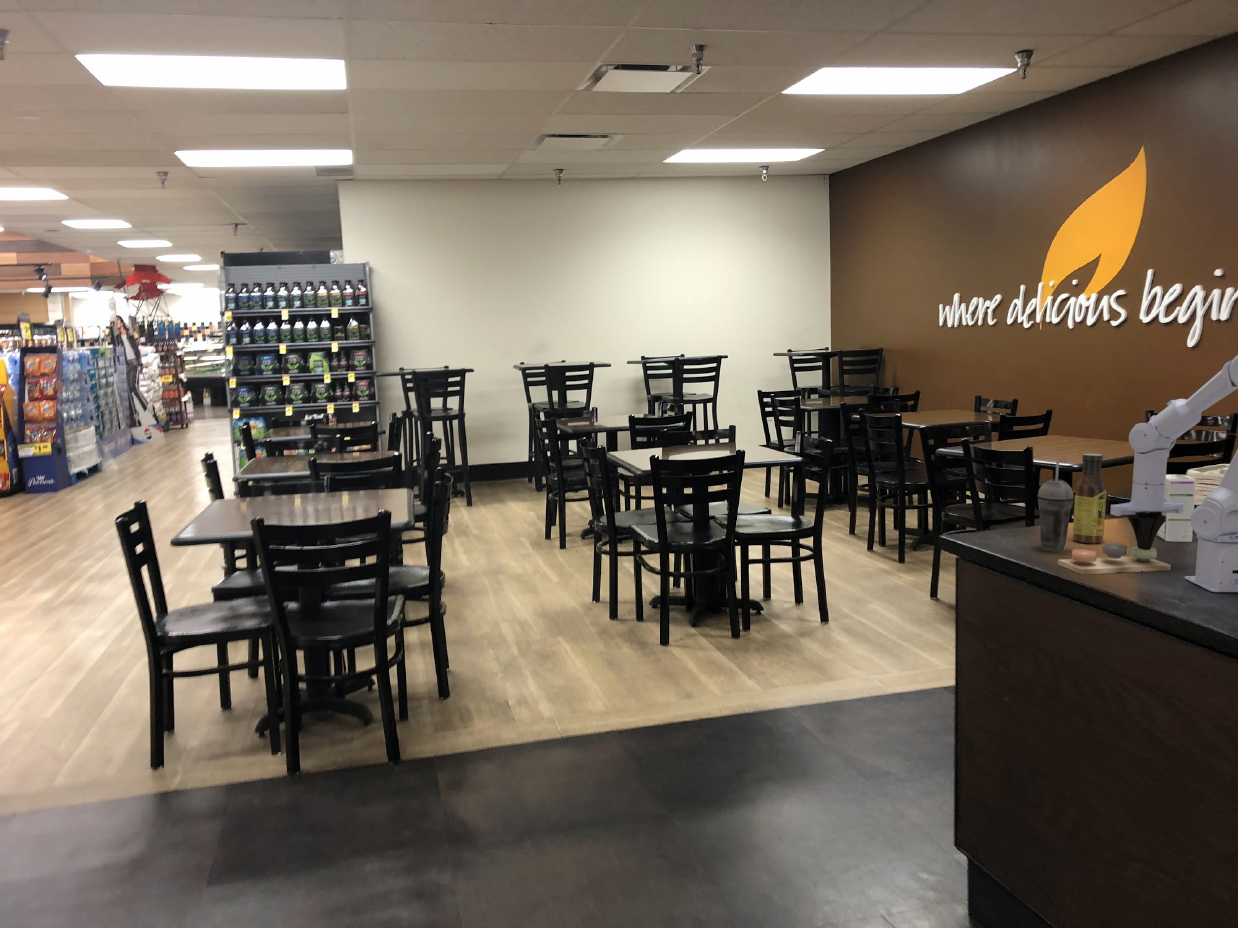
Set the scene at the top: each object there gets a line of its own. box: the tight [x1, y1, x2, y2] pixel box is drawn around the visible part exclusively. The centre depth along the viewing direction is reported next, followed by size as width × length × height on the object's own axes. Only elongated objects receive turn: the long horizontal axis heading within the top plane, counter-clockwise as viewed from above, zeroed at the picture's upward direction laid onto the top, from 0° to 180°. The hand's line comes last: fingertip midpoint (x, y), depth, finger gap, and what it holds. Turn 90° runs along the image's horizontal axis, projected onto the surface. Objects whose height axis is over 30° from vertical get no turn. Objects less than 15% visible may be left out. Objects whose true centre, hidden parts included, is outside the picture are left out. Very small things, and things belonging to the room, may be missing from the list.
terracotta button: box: [1071, 548, 1098, 565], centre depth 187 cm, size 4×4×2 cm
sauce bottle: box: [1072, 453, 1107, 544], centre depth 210 cm, size 7×6×20 cm
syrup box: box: [1156, 473, 1197, 543], centre depth 211 cm, size 6×6×14 cm
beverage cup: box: [1037, 458, 1075, 553], centre depth 202 cm, size 7×7×20 cm
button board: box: [1057, 555, 1172, 576], centre depth 189 cm, size 19×8×1 cm, turn 97°
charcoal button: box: [1101, 542, 1128, 559], centre depth 188 cm, size 4×4×2 cm
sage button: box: [1130, 545, 1158, 562], centre depth 189 cm, size 4×4×2 cm
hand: (1144, 548), depth 189 cm, fingers closed, pressing on sage button
